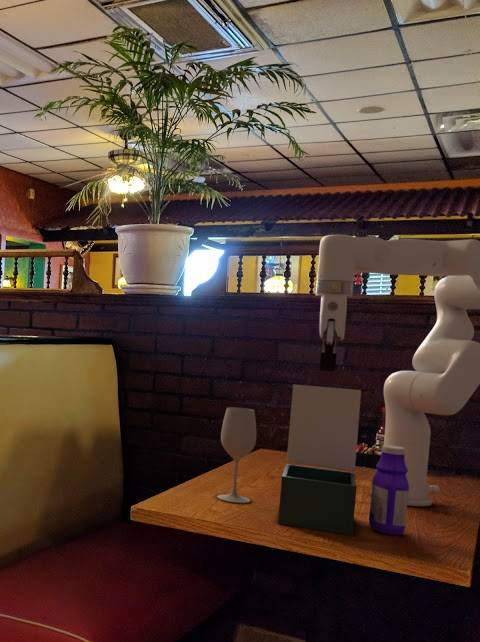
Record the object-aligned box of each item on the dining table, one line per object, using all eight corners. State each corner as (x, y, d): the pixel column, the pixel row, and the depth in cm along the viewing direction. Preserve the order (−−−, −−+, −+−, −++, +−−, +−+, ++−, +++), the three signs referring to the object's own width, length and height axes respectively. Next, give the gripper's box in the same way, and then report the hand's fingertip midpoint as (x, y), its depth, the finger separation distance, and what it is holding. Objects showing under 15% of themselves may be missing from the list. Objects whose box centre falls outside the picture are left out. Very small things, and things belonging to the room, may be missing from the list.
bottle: (410, 537, 148) (418, 450, 147) (381, 535, 148) (389, 448, 147) (390, 527, 155) (397, 444, 155) (363, 525, 156) (369, 442, 155)
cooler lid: (361, 390, 163) (360, 390, 164) (293, 384, 169) (293, 384, 170) (354, 470, 161) (354, 470, 162) (286, 461, 167) (286, 461, 168)
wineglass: (234, 504, 168) (241, 411, 167) (209, 496, 174) (216, 407, 173) (258, 502, 171) (265, 411, 170) (232, 494, 178) (239, 406, 177)
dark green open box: (352, 535, 147) (356, 486, 147) (278, 523, 153) (281, 476, 153) (350, 517, 162) (354, 472, 162) (283, 507, 168) (286, 463, 168)
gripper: (353, 288, 161) (346, 373, 162) (352, 292, 175) (345, 371, 175) (315, 287, 164) (308, 370, 165) (316, 291, 178) (310, 368, 179)
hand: (327, 370), depth 170 cm, fingers closed
